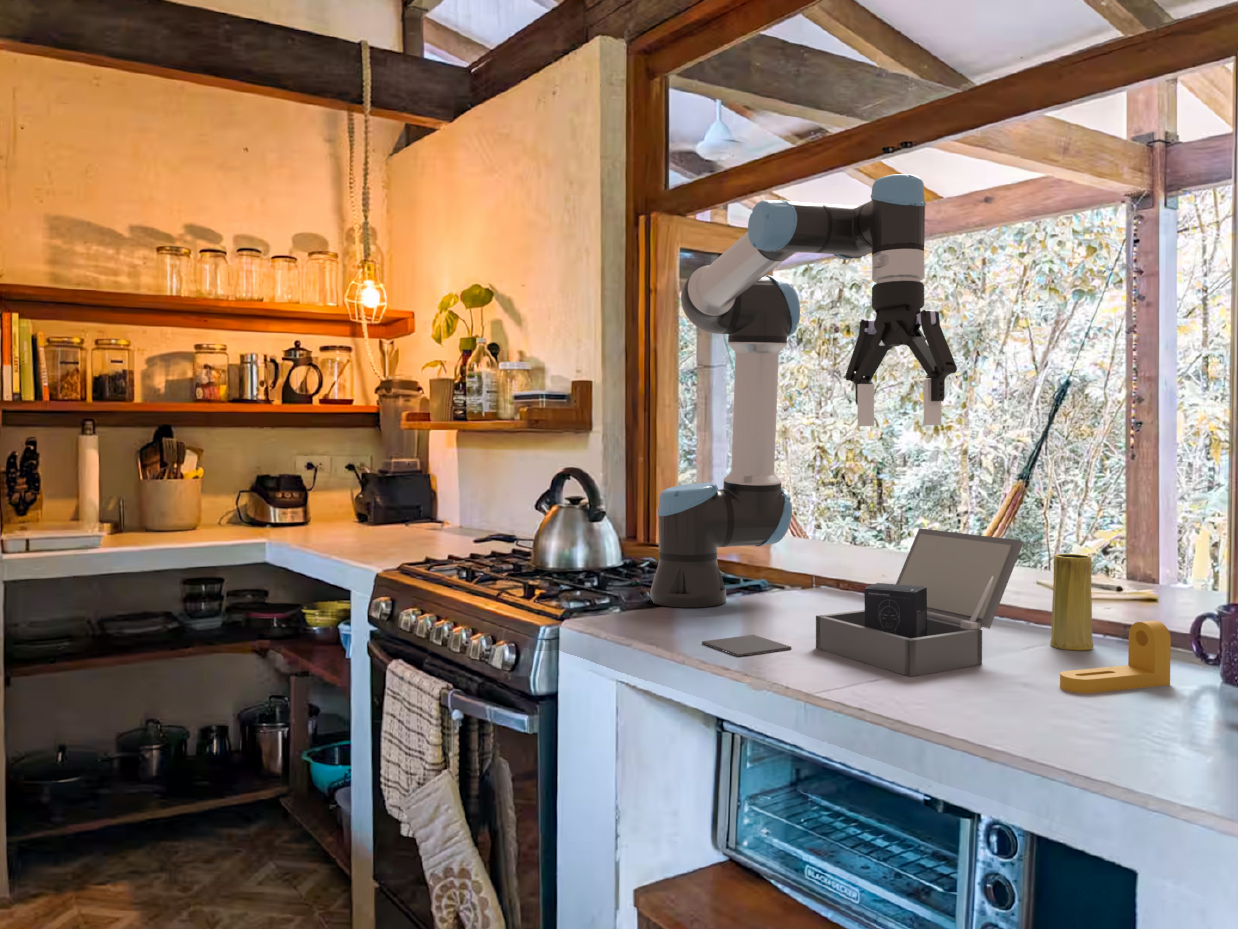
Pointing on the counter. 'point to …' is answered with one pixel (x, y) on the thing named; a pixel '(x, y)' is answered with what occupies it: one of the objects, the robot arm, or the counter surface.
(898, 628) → the box
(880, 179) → the robot arm
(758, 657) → the counter surface
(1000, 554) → the case
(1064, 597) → the vase
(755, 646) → the mat
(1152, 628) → the bracket
